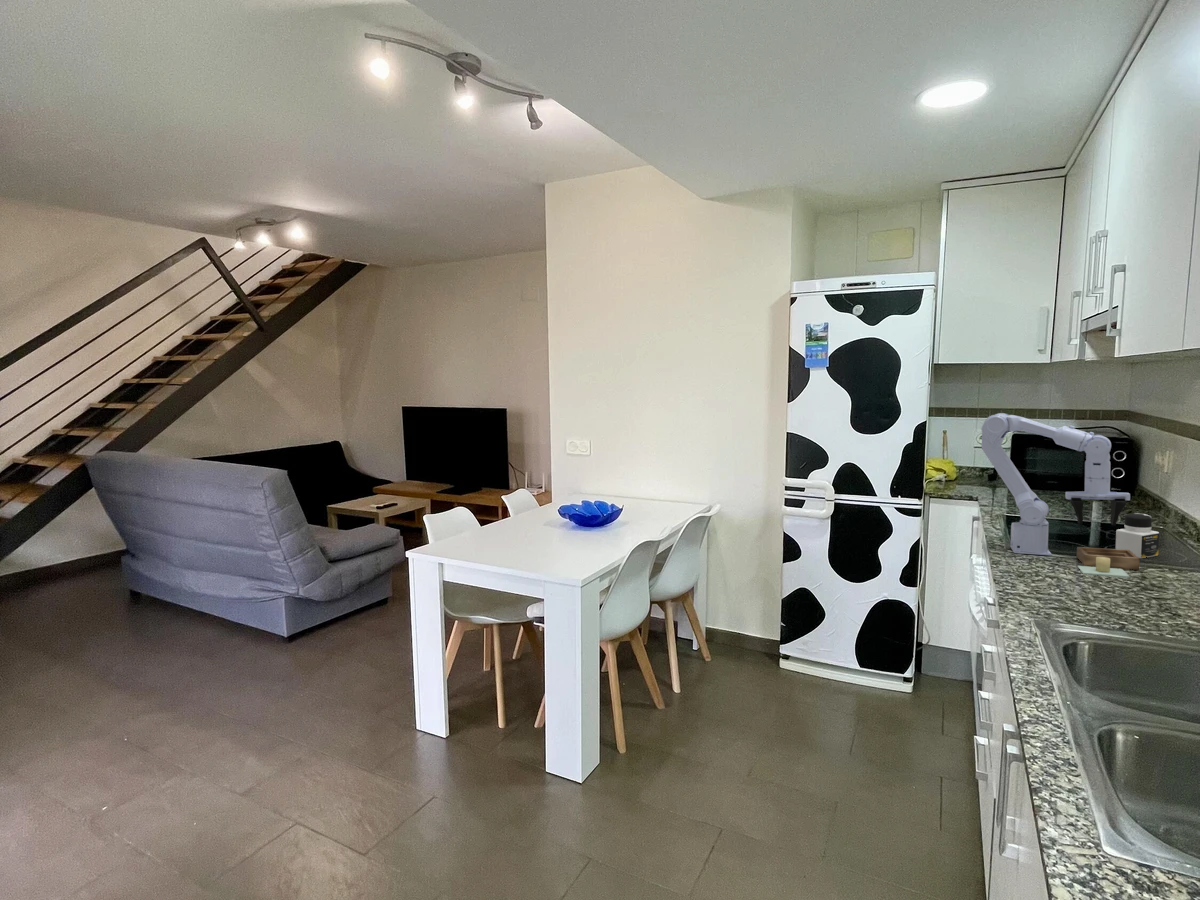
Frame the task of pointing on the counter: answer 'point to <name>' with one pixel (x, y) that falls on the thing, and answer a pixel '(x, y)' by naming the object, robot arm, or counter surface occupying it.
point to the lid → (1103, 569)
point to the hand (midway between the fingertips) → (1096, 524)
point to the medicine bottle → (1138, 536)
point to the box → (1117, 557)
